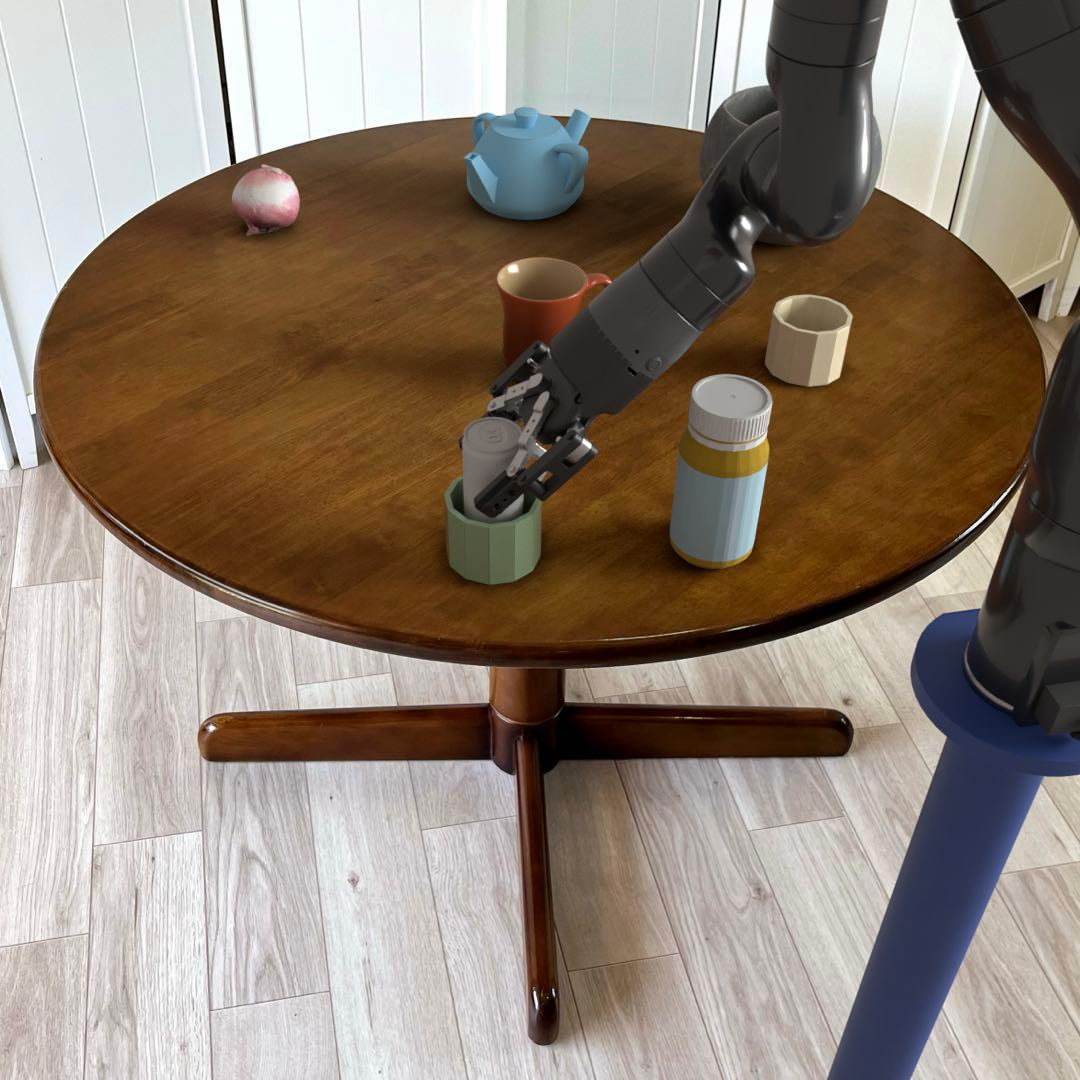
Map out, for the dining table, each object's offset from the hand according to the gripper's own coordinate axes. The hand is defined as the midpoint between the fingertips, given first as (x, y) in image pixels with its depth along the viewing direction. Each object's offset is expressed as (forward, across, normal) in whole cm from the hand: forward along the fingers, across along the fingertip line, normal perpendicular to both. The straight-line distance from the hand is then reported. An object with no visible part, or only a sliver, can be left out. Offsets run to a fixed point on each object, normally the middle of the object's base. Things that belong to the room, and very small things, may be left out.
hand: (474, 480), depth 97 cm
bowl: (-27, -52, +38) cm, 70 cm away
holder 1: (+4, 0, +7) cm, 8 cm away
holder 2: (-21, -23, +32) cm, 45 cm away
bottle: (-8, +2, +20) cm, 21 cm away
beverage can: (+5, 0, +7) cm, 8 cm away
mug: (-3, -27, +14) cm, 31 cm away
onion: (+16, -63, -5) cm, 65 cm away
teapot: (-7, -66, +18) cm, 69 cm away
